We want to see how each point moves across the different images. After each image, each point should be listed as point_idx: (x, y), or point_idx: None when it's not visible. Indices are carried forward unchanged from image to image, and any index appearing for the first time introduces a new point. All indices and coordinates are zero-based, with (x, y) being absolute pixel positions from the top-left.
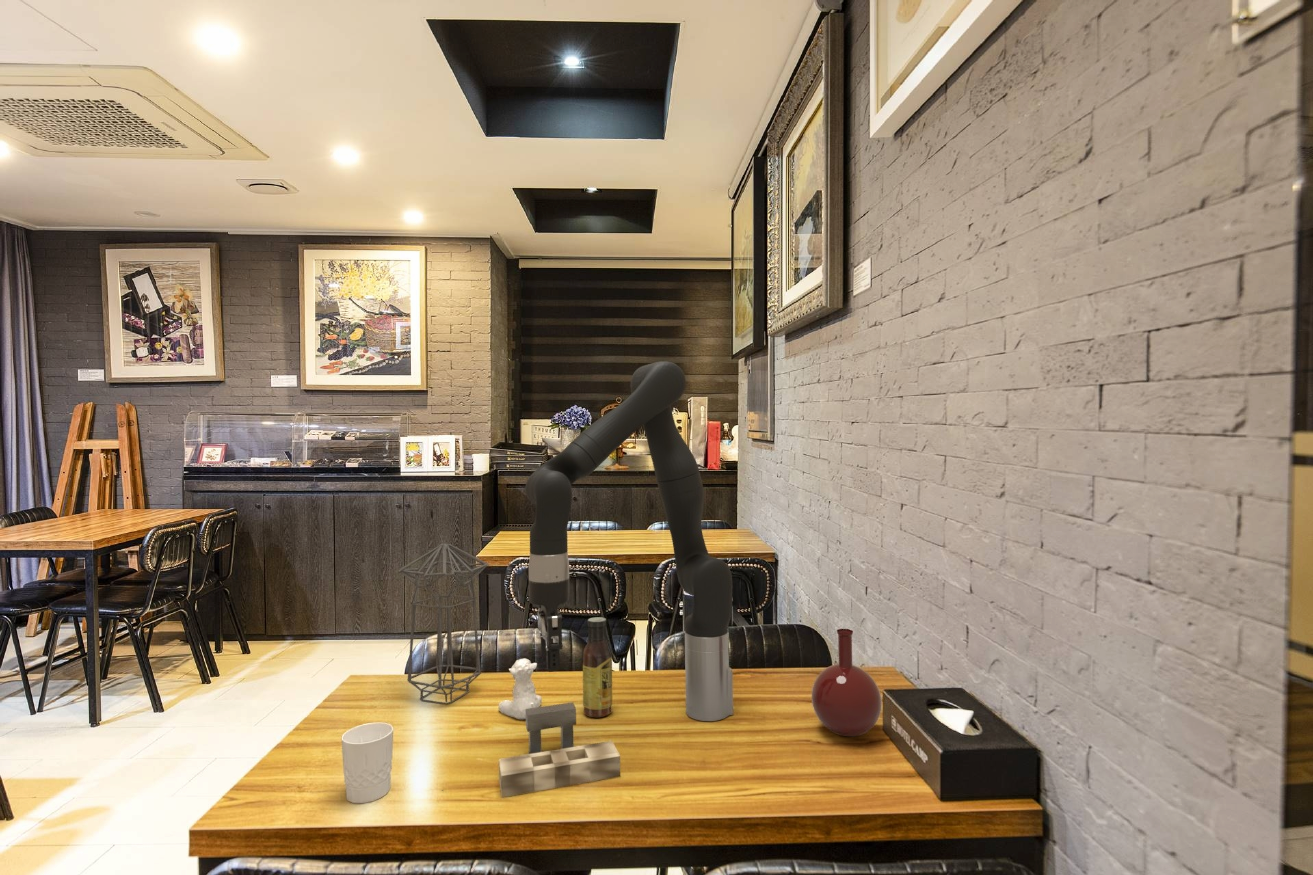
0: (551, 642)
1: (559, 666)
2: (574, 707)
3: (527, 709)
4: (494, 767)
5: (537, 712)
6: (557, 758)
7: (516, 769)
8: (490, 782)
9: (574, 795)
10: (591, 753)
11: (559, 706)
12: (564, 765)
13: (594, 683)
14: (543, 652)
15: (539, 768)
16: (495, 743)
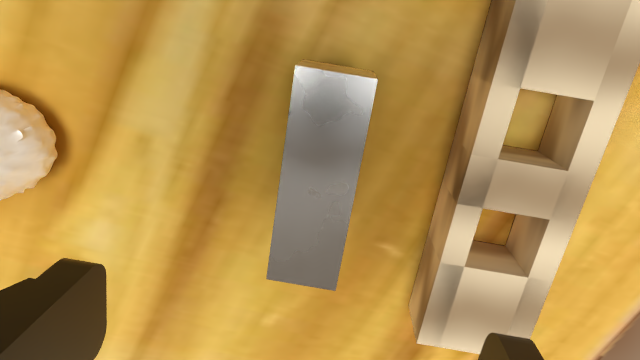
0: (11, 354)
1: (538, 352)
2: (363, 82)
3: (275, 273)
4: (338, 300)
5: (327, 248)
6: (525, 197)
7: (510, 319)
8: (411, 325)
9: (619, 163)
10: (574, 78)
11: (313, 144)
12: (586, 193)
13: None
14: (83, 354)
15: (550, 264)
16: (196, 266)
